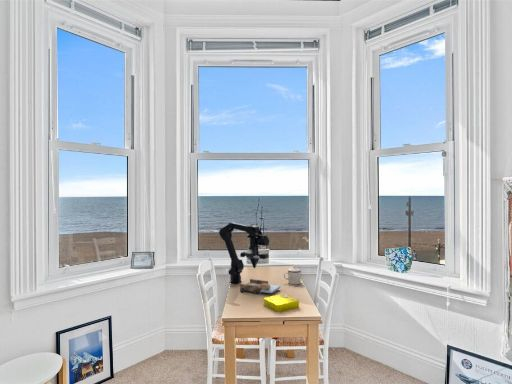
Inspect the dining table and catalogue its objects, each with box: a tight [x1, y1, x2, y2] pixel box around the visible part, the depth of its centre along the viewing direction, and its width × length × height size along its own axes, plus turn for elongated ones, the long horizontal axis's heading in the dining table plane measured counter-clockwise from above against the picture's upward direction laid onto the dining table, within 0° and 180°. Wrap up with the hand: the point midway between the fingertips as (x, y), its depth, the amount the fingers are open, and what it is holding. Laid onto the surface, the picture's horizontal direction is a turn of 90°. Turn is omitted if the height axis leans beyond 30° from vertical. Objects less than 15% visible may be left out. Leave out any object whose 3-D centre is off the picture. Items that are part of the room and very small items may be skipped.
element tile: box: [263, 293, 300, 314], centre depth 176 cm, size 15×15×5 cm
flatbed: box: [239, 278, 269, 295], centre depth 207 cm, size 14×17×4 cm
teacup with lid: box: [283, 265, 302, 285], centre depth 222 cm, size 12×9×12 cm
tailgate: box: [260, 284, 281, 294], centre depth 202 cm, size 1×14×8 cm
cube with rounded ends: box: [260, 283, 271, 290], centre depth 200 cm, size 7×3×3 cm, turn 62°
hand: (254, 268), depth 215 cm, fingers closed
